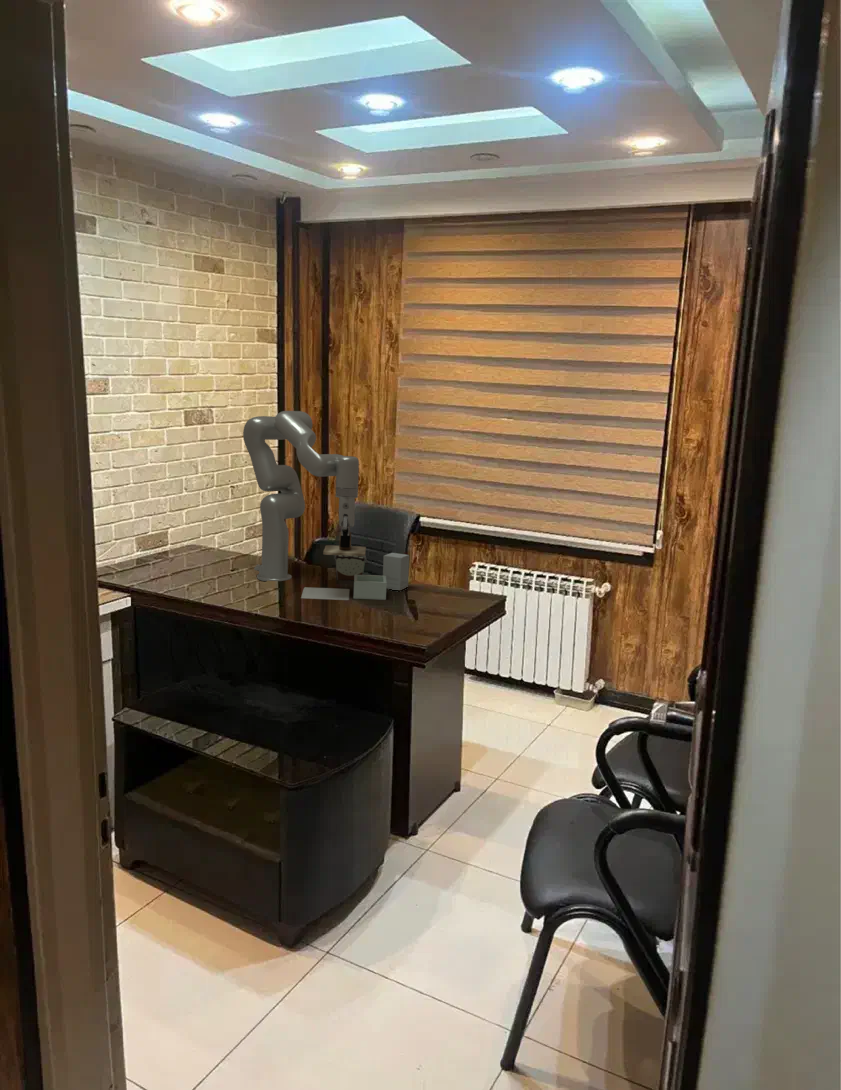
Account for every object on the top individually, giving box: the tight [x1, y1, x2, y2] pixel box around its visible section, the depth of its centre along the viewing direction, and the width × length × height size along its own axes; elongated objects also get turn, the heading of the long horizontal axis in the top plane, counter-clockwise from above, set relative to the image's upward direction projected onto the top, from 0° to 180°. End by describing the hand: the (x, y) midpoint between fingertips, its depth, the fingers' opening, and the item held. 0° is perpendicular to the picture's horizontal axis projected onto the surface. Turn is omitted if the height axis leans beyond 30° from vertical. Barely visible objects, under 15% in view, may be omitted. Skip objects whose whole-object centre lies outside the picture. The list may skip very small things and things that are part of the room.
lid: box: [322, 530, 367, 556], centre depth 279 cm, size 14×14×7 cm
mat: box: [300, 586, 350, 601], centre depth 282 cm, size 16×16×1 cm
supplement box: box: [382, 552, 410, 591], centre depth 297 cm, size 7×7×13 cm
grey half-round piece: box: [333, 555, 367, 581], centre depth 307 cm, size 12×6×10 cm, turn 84°
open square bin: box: [352, 574, 387, 601], centre depth 283 cm, size 11×11×6 cm
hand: (345, 545), depth 280 cm, fingers closed on lid, 4 cm apart
